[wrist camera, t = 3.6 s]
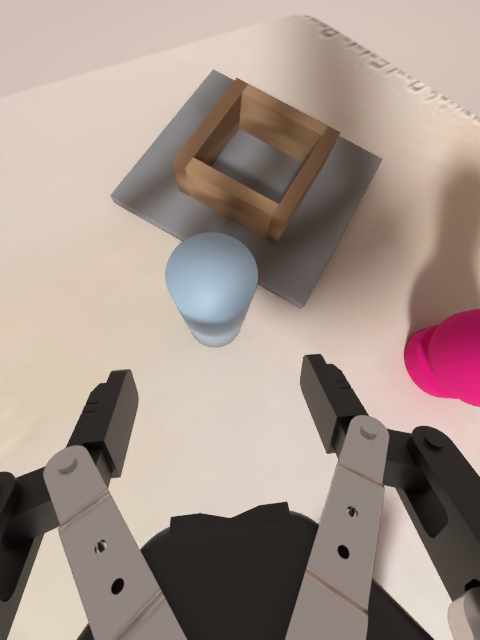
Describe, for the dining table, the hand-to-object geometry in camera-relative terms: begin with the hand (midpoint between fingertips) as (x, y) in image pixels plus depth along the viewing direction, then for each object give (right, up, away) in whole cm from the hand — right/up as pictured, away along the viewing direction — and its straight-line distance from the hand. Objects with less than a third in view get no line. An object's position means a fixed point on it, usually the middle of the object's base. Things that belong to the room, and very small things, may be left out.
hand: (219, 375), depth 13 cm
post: (-1, +2, +11) cm, 11 cm away
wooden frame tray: (+2, +16, +15) cm, 22 cm away
